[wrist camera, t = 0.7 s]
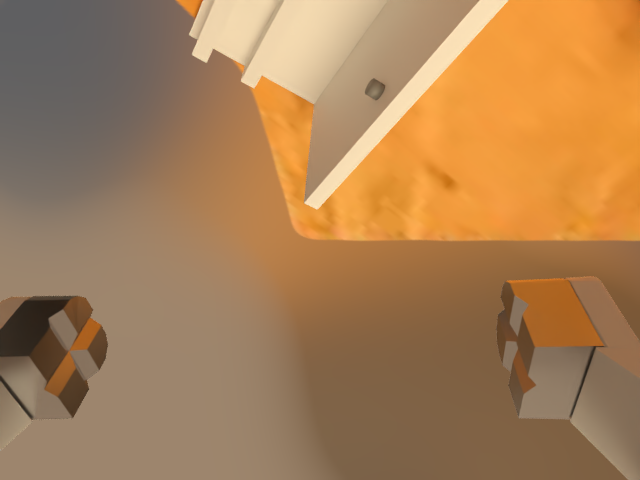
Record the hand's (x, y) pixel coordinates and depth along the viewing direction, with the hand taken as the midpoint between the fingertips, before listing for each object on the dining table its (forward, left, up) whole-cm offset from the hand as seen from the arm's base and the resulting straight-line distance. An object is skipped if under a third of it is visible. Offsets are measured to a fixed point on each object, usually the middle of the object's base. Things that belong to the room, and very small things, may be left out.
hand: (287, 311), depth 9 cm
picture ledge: (+10, +3, -44) cm, 45 cm away
